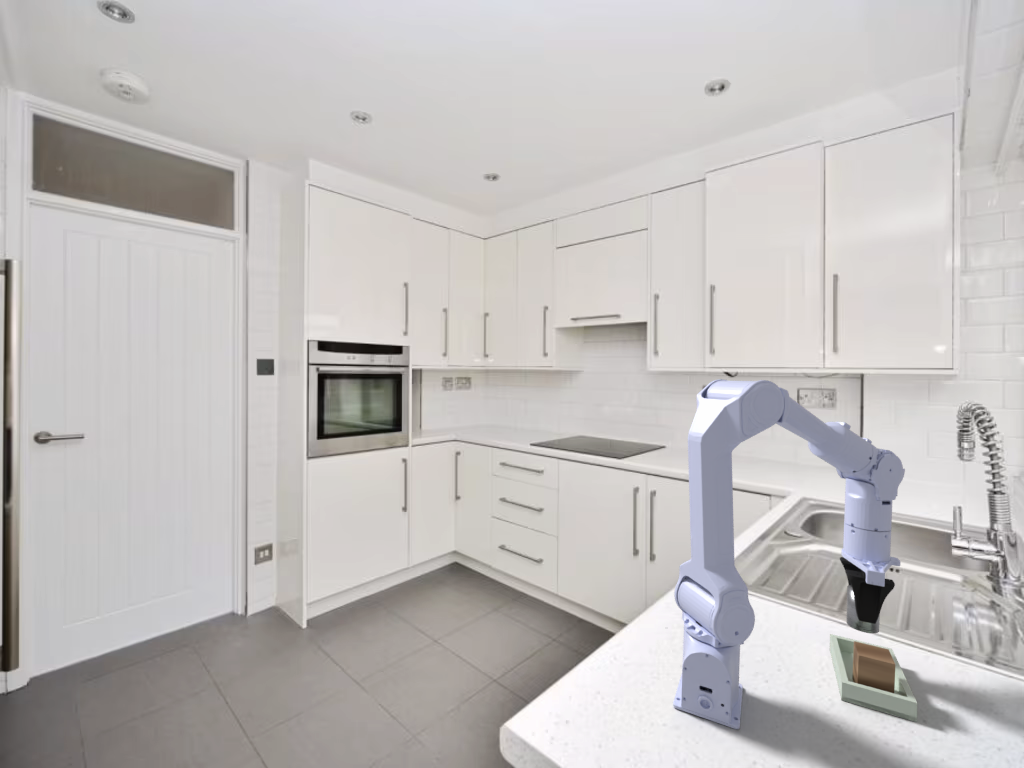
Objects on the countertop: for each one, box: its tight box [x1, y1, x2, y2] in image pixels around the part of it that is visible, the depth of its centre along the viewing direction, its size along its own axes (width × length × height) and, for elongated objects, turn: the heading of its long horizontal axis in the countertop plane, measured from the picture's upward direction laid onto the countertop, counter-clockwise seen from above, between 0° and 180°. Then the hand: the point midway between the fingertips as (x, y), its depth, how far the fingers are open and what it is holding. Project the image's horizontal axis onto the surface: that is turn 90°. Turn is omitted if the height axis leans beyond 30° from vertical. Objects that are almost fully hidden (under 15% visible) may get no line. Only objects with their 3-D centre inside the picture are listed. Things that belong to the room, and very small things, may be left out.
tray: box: [829, 633, 918, 723], centre depth 68 cm, size 14×8×2 cm, turn 151°
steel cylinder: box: [845, 584, 881, 634], centre depth 71 cm, size 4×4×6 cm
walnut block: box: [853, 641, 895, 693], centre depth 65 cm, size 4×4×6 cm
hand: (863, 614), depth 71 cm, fingers closed on steel cylinder, 4 cm apart
